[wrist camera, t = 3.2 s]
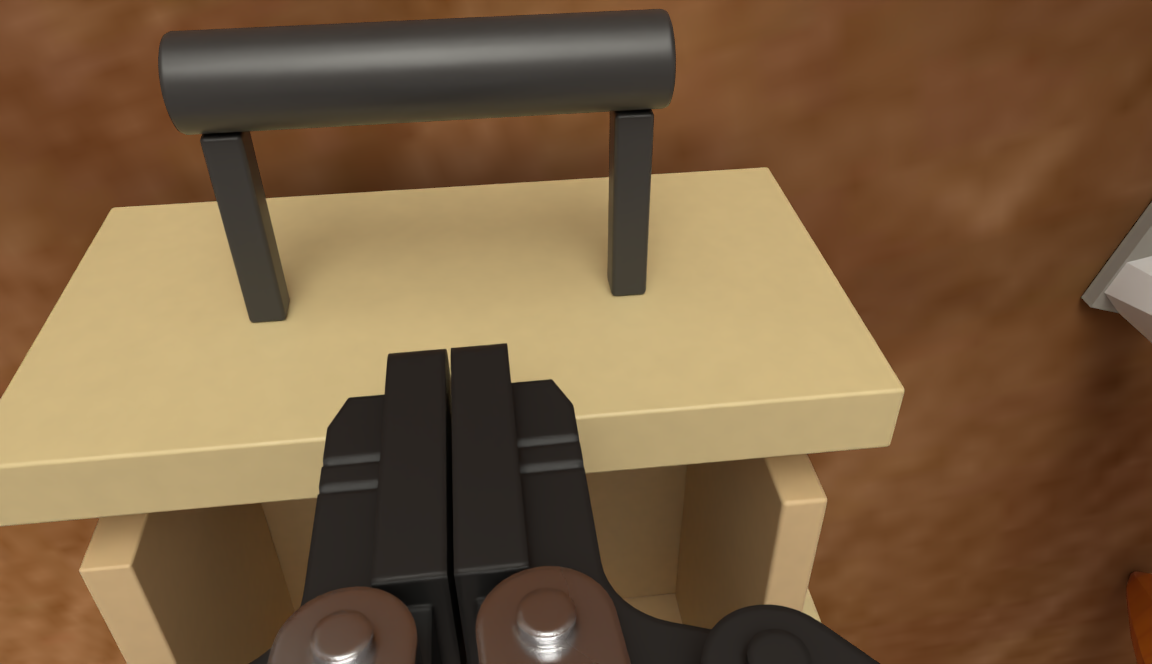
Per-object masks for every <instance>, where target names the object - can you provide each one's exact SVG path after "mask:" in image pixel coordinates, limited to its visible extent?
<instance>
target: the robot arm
mask: <svg viewBox="0 0 1152 664" xmlns="http://www.w3.org/2000/svg"><path fill="white" fill-rule="evenodd" d="M249 664H880V663H878V662H877V661H875V660H874V659H873V658H871V657H870V656H868V655H867V654H865V653H864V652H862V651H861V650H860V649H858V648H857V647H855V646H854V645H852V644H851V643H849V642H848V641H847V640H845V639H844V638H842V637H841V636H839V635H838V634H836V633H835V632H834V631H832V630H831V629H829V628H828V627H826V626H825V625H823V624H822V623H821V622H819V621H818V620H816V619H814V618H813V617H811V616H809V615H807V614H805V613H803V612H800V611H798V610H796V609H792V608H788V607H785V606H779V605H771V604H767V605H753V606H747V607H744V608H741V609H738V610H735V611H733V612H731V613H730V614H728V615H726V616H725V617H723V618H722V619H721V620H720V621H718V622H717V623H716V625H715V626H714V627H713V628H712V629H707V628H702V627H696V626H691V625H685V624H680V623H675V622H670V621H666V620H662V619H658V618H655V617H653V616H650V615H647V614H645V613H643V612H641V611H640V610H638V609H636V608H634V607H633V606H631V605H630V604H629V603H627V602H626V601H625V600H624V599H623V598H622V597H621V596H620V595H619V594H618V593H617V592H616V591H615V590H614V589H613V587H612V586H611V584H610V583H609V581H608V579H607V577H606V575H605V573H604V570H603V567H602V563H601V558H600V552H599V547H598V541H597V535H596V530H595V524H594V518H593V513H592V507H591V502H590V496H589V490H588V485H587V479H586V473H585V468H584V464H583V456H582V451H581V445H580V442H579V434H578V428H577V423H576V417H575V411H574V406H573V404H572V403H571V401H570V400H569V399H568V398H567V397H566V395H565V394H564V393H563V392H562V391H561V389H560V388H559V387H558V386H557V384H556V383H555V382H554V381H553V380H552V379H548V380H537V381H526V382H515V383H511V376H510V365H509V355H508V345H507V343H502V344H491V345H479V346H468V347H456V348H451V375H450V367H449V360H448V354H447V350H446V349H436V350H424V351H412V352H401V353H389V354H388V357H387V367H386V381H385V394H384V395H373V396H361V397H350V398H348V399H347V401H346V402H345V403H344V405H343V406H342V408H341V409H340V411H339V412H338V413H337V415H336V416H335V418H334V419H333V420H332V422H331V423H330V425H329V426H328V427H327V433H326V440H325V447H324V454H323V467H322V468H321V475H320V482H319V494H318V496H317V503H316V509H315V516H314V523H313V530H312V537H311V544H310V551H309V558H308V565H307V572H306V579H305V585H304V592H303V597H302V602H301V606H300V608H299V609H297V610H296V611H295V612H294V613H293V614H292V615H291V616H290V617H289V618H288V619H287V620H286V622H285V623H284V624H283V625H282V627H281V628H280V630H279V632H278V633H277V635H276V637H275V639H274V642H273V645H272V647H271V648H270V649H269V650H267V651H266V652H265V653H264V654H262V655H261V656H260V657H258V658H257V659H255V660H253V661H252V662H250V663H249Z"/></svg>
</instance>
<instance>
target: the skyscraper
mask: <svg viewBox="0 0 1152 664" xmlns="http://www.w3.org/2000/svg"><path fill="white" fill-rule="evenodd" d="M1081 298H1082V299H1083V300H1084V301H1085V302H1086V303H1087V304H1088V305H1089V306H1090V307H1092V308H1097V309H1101V310H1106V311H1111V312H1115V313H1120V314H1121V315H1122V316H1123V317H1124V318H1125V319H1126V320H1127V321H1128V322H1129V323H1130V324H1132V325H1133V326H1134V327H1135V328H1136V329H1137V330H1138V331H1139V332H1140V333H1141V334H1142V335H1143V336H1145V337H1146V338H1147V339H1148V340H1149V341H1150V342H1151V343H1152V202H1151V203H1150V205H1149V206H1148V207H1147V209H1146V210H1145V211H1144V213H1143V214H1142V215H1141V217H1140V218H1139V220H1138V221H1137V222H1136V224H1135V225H1134V226H1133V228H1132V229H1131V230H1130V232H1129V233H1128V234H1127V236H1126V237H1125V239H1124V240H1123V241H1122V243H1121V244H1120V245H1119V247H1118V248H1117V249H1116V251H1115V252H1114V254H1113V255H1112V256H1111V258H1110V259H1109V260H1108V262H1107V263H1106V264H1105V266H1104V267H1103V268H1102V270H1101V271H1100V273H1099V274H1098V275H1097V277H1096V278H1095V279H1094V281H1093V282H1092V283H1091V285H1090V286H1089V288H1088V289H1087V290H1086V292H1085V293H1084V294H1083V296H1082V297H1081Z"/></svg>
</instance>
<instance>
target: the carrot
mask: <svg viewBox="0 0 1152 664" xmlns="http://www.w3.org/2000/svg"><path fill="white" fill-rule="evenodd" d="M1126 597H1127V606H1128V615H1129V624H1130V633H1131V639H1132V643H1133V647H1134V652H1135V656H1136V660H1137V664H1152V574H1149V573H1143V572H1138V571H1135V572H1133V573H1131V575H1130V577H1129V580H1128V583H1127V586H1126Z"/></svg>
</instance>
